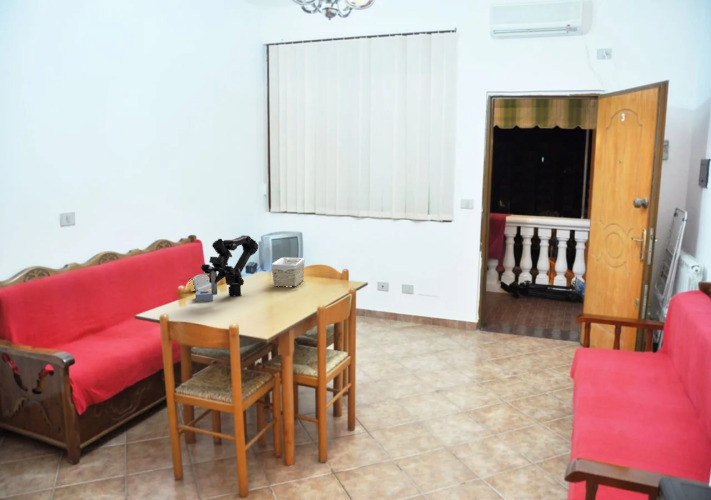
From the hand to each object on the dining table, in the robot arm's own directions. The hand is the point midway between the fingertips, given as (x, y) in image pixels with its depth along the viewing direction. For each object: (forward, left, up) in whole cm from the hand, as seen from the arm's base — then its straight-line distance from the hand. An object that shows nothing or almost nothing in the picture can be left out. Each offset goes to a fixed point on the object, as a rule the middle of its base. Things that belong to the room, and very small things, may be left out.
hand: (212, 282), depth 297 cm
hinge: (+8, -40, -13) cm, 42 cm away
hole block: (+5, -13, -12) cm, 19 cm away
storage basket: (-45, -44, -13) cm, 64 cm away
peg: (-1, -1, -7) cm, 7 cm away
